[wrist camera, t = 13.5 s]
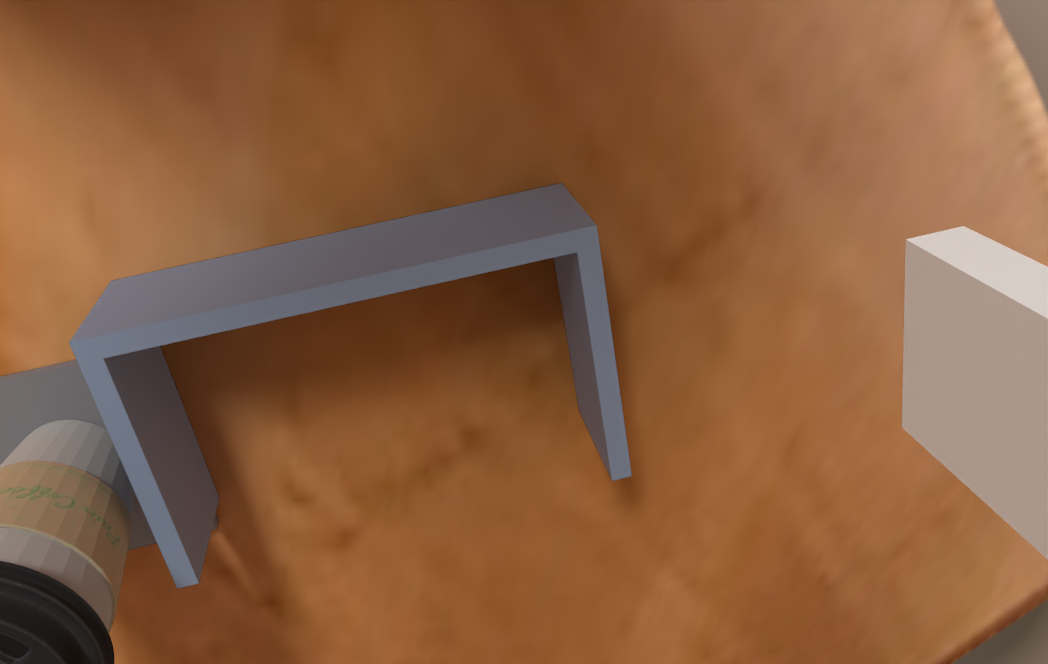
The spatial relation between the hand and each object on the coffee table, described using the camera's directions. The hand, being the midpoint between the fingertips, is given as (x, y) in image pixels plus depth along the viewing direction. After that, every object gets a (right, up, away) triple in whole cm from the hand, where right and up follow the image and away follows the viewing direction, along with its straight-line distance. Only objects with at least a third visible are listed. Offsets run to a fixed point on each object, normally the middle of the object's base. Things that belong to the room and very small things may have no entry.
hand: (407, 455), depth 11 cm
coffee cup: (-21, -5, +34) cm, 41 cm away
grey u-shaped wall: (-6, 0, +35) cm, 36 cm away
